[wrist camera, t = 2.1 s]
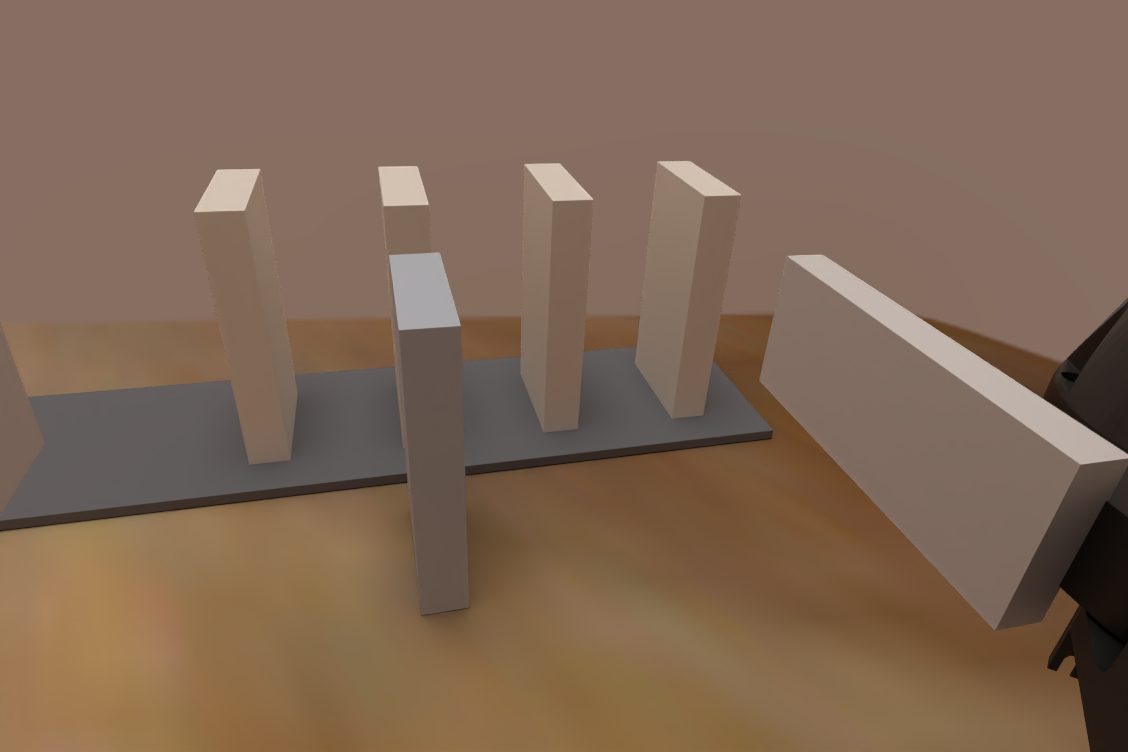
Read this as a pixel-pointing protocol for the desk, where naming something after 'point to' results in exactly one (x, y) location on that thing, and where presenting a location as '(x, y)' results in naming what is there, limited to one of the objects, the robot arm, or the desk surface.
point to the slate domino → (432, 427)
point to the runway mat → (335, 437)
